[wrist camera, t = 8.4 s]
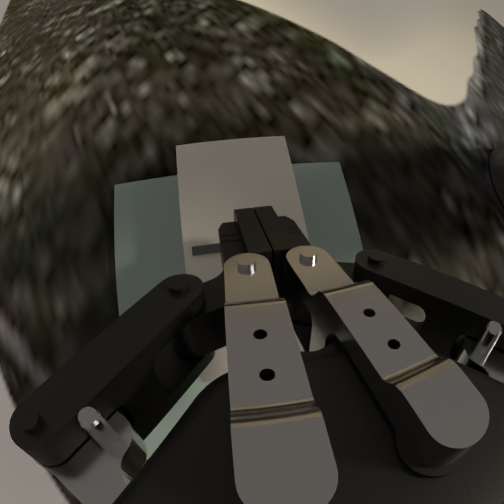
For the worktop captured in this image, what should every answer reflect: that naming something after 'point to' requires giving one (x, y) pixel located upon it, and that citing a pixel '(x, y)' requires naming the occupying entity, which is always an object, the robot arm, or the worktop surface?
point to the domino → (229, 201)
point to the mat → (172, 253)
